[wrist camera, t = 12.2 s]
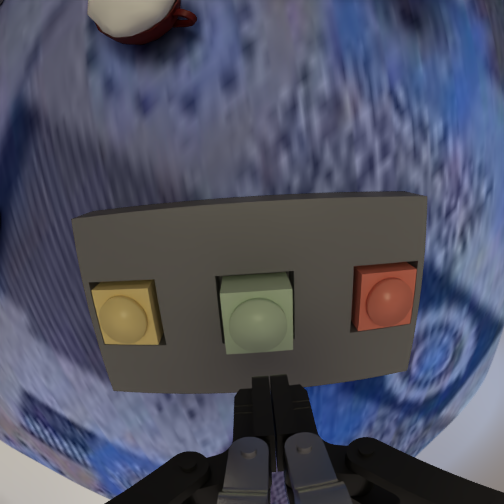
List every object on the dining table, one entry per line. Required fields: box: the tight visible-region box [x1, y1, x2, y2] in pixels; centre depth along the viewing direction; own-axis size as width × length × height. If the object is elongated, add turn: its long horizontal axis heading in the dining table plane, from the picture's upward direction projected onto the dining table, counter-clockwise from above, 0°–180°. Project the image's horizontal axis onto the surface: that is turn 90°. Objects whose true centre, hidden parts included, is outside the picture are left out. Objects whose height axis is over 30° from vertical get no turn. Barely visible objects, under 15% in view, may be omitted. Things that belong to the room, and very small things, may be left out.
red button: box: [351, 262, 417, 331], centre depth 22 cm, size 4×4×4 cm
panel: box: [71, 191, 427, 394], centre depth 23 cm, size 24×14×4 cm, turn 93°
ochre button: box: [91, 279, 164, 345], centre depth 22 cm, size 4×4×4 cm
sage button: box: [220, 272, 293, 354], centre depth 20 cm, size 4×4×4 cm
